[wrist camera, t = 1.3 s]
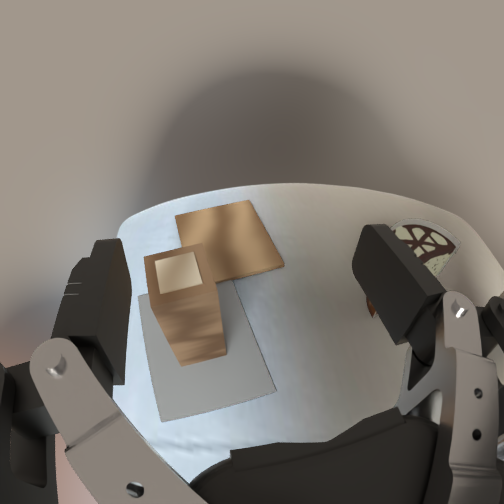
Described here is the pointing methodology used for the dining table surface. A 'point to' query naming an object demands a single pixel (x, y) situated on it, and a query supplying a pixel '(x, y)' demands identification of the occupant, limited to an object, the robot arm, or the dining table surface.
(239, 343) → the tile
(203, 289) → the walnut block
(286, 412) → the dining table surface
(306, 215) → the dining table surface
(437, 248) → the food container
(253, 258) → the cork pad
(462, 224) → the dining table surface
